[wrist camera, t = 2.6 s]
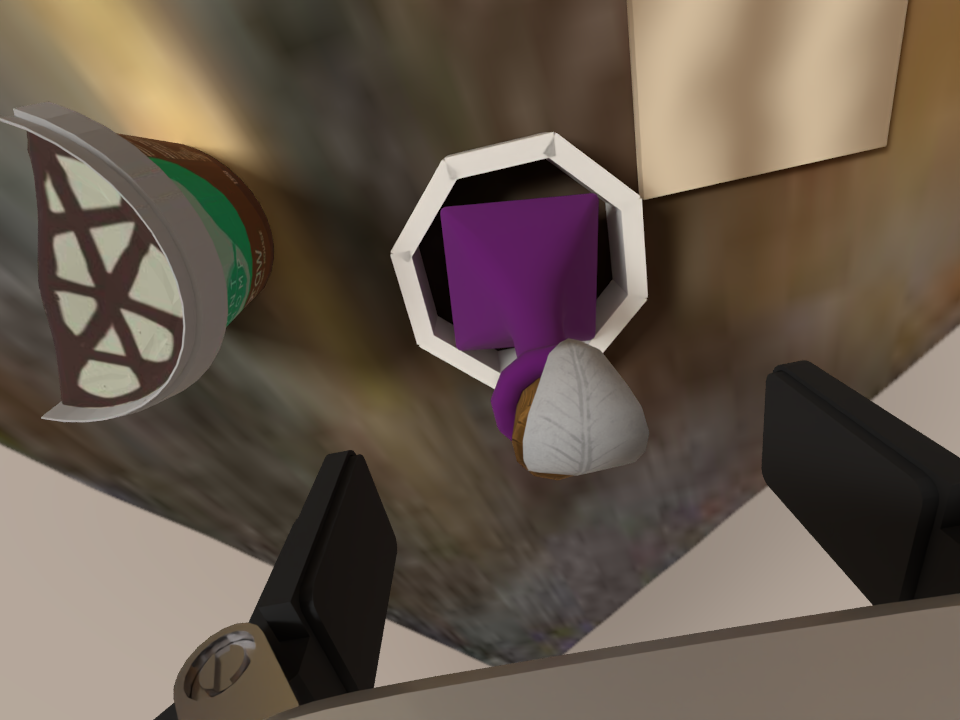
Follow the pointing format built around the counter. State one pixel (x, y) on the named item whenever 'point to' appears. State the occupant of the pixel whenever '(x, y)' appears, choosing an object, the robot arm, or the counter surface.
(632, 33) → the coaster board
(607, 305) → the holder ring
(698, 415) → the counter surface
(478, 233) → the perfume bottle
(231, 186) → the food container
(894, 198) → the counter surface
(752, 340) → the counter surface
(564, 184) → the counter surface
